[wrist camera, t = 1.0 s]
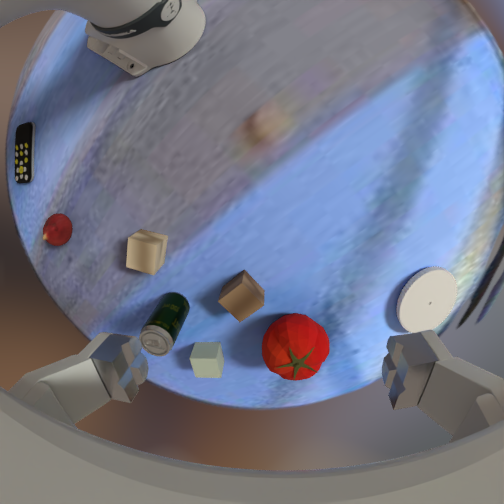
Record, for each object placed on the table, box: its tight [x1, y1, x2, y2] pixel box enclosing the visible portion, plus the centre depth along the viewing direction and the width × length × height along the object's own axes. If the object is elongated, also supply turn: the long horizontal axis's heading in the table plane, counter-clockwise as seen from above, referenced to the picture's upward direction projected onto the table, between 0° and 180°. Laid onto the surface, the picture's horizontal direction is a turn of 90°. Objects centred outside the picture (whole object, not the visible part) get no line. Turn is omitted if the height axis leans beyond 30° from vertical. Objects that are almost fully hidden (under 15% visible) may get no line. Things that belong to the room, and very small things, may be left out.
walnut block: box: [218, 270, 264, 322], centre depth 44 cm, size 5×5×5 cm
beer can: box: [139, 292, 190, 356], centre depth 43 cm, size 5×5×12 cm
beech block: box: [126, 229, 168, 275], centre depth 43 cm, size 5×5×5 cm
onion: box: [43, 214, 72, 246], centre depth 41 cm, size 6×6×8 cm
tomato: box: [262, 313, 329, 380], centre depth 44 cm, size 12×12×10 cm
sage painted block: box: [190, 342, 224, 378], centre depth 50 cm, size 5×5×5 cm
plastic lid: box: [396, 266, 457, 333], centre depth 45 cm, size 14×14×2 cm
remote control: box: [15, 122, 35, 183], centre depth 39 cm, size 6×13×2 cm, turn 175°
